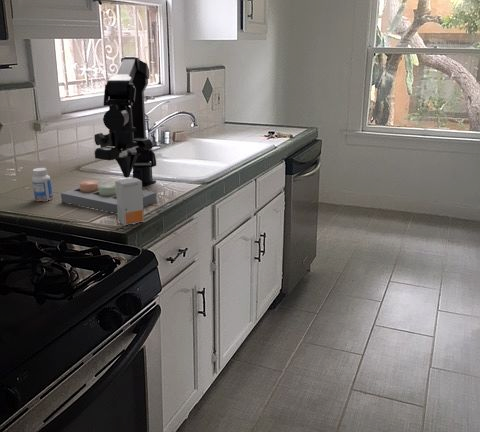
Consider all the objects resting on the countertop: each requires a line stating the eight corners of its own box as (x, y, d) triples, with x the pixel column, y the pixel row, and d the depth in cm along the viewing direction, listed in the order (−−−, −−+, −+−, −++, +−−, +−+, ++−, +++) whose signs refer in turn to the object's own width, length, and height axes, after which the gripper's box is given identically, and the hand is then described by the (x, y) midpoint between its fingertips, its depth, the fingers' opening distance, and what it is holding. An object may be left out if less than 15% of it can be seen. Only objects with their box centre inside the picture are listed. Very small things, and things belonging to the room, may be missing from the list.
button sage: (108, 193, 167) (107, 183, 166) (121, 195, 164) (121, 185, 163) (95, 197, 163) (94, 187, 161) (109, 200, 160) (108, 190, 159)
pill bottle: (47, 195, 171) (43, 166, 168) (56, 198, 168) (52, 168, 164) (31, 199, 167) (27, 169, 164) (40, 203, 164) (36, 172, 160)
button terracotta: (89, 189, 171) (88, 179, 170) (102, 191, 168) (101, 182, 167) (76, 193, 166) (75, 184, 165) (89, 196, 164) (88, 186, 163)
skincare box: (124, 227, 143) (121, 184, 139) (118, 222, 146) (114, 180, 142) (145, 222, 147) (142, 180, 143) (138, 218, 150) (135, 177, 146)
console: (97, 190, 176) (96, 181, 175) (156, 201, 164) (155, 192, 163) (61, 202, 164) (60, 193, 163) (123, 215, 152) (122, 205, 151)
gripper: (123, 117, 164) (127, 167, 169) (77, 127, 148) (83, 181, 154) (151, 120, 158) (155, 171, 163) (107, 130, 143) (112, 186, 148)
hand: (126, 177), depth 157 cm, fingers closed
